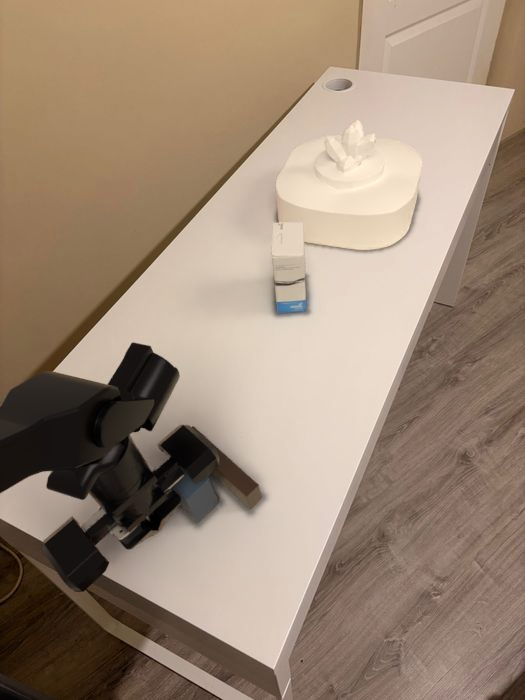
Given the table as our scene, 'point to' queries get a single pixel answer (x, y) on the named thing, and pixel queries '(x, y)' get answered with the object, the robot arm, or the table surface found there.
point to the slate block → (196, 497)
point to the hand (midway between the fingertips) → (156, 528)
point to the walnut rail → (235, 478)
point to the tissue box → (350, 189)
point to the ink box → (289, 266)
